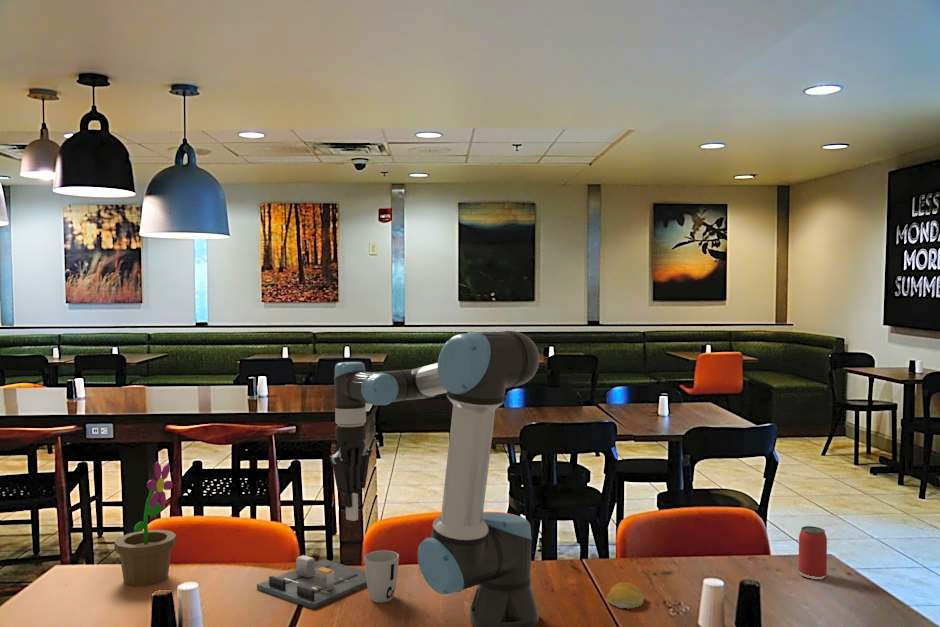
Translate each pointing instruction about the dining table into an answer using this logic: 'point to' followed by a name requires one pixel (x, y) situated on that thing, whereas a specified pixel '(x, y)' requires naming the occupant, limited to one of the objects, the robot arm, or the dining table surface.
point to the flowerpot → (148, 539)
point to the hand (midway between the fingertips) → (352, 519)
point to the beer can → (813, 551)
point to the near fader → (324, 578)
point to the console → (305, 590)
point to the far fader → (305, 566)
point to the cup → (381, 574)
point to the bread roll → (625, 596)
